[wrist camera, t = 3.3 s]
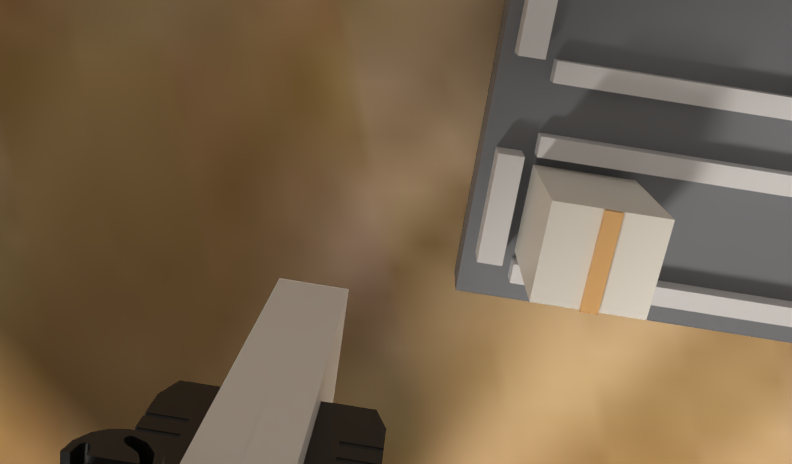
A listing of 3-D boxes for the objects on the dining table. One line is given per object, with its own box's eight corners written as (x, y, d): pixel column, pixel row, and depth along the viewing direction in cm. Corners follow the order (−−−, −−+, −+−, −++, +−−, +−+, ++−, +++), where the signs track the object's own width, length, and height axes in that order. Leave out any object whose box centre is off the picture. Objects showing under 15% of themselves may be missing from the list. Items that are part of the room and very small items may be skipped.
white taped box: (514, 250, 30) (530, 303, 25) (533, 164, 29) (553, 202, 24) (612, 266, 30) (647, 322, 25) (635, 180, 29) (676, 221, 24)
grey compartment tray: (454, 271, 33) (456, 301, 30) (528, -125, 27) (540, -138, 24) (903, 342, 33) (951, 379, 30) (1062, -41, 27) (1140, -44, 24)
